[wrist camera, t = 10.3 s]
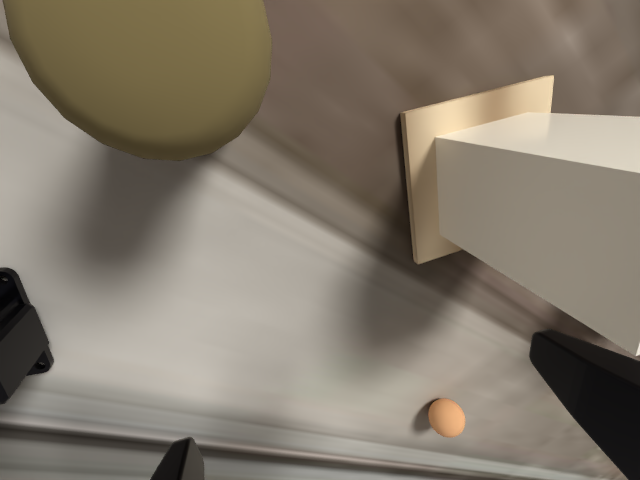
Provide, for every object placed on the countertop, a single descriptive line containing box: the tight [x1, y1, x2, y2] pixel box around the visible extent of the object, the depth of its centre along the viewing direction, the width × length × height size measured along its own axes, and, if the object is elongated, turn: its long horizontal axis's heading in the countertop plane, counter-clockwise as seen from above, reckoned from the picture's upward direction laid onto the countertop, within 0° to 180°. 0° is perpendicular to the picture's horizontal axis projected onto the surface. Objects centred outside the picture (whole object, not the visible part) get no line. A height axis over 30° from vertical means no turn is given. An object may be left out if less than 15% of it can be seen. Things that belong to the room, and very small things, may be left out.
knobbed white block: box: [435, 112, 640, 356], centre depth 16 cm, size 6×6×13 cm
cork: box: [3, 0, 272, 161], centre depth 11 cm, size 6×6×11 cm
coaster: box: [400, 76, 554, 264], centre depth 22 cm, size 10×10×1 cm
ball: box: [428, 399, 465, 437], centre depth 29 cm, size 3×3×3 cm
